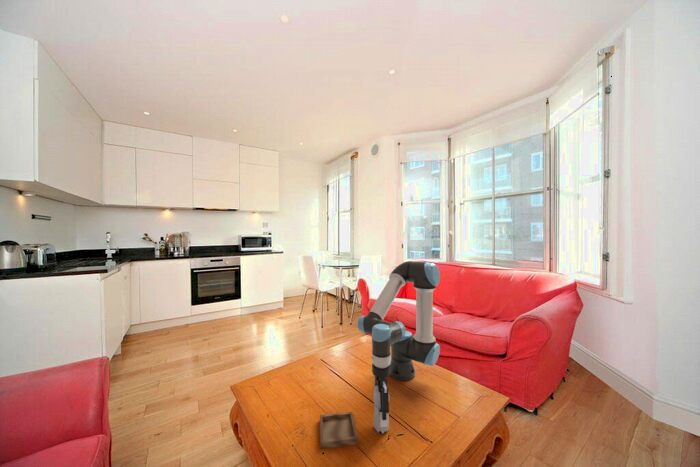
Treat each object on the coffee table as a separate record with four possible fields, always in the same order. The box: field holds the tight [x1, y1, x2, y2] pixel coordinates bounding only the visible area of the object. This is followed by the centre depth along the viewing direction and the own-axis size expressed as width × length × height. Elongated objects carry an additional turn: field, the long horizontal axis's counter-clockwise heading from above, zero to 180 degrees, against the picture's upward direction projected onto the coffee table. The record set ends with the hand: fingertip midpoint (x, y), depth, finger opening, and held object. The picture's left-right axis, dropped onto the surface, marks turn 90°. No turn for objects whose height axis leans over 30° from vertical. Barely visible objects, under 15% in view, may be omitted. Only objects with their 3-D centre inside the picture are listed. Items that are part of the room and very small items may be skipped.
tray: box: [319, 411, 358, 450], centre depth 100 cm, size 14×14×2 cm
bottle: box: [372, 384, 390, 434], centre depth 101 cm, size 7×7×20 cm
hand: (381, 419), depth 101 cm, fingers closed on bottle, 6 cm apart
